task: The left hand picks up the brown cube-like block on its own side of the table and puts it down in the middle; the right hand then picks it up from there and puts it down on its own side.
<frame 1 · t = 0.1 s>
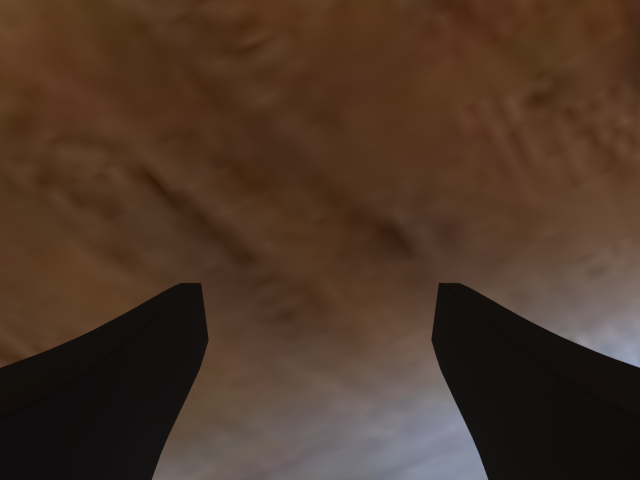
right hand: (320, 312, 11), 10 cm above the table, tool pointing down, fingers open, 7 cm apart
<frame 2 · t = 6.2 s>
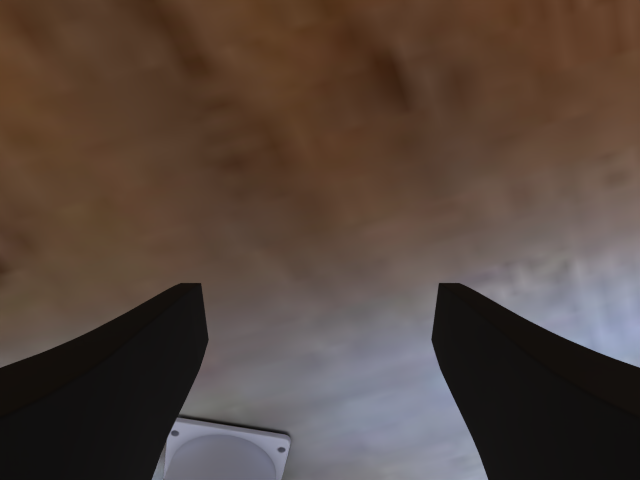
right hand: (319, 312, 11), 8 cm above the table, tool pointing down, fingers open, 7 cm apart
when the left hand's fingers open (1 cm above the table, at t = 17.9 s): brown cube-like block stays where it is, on the table.
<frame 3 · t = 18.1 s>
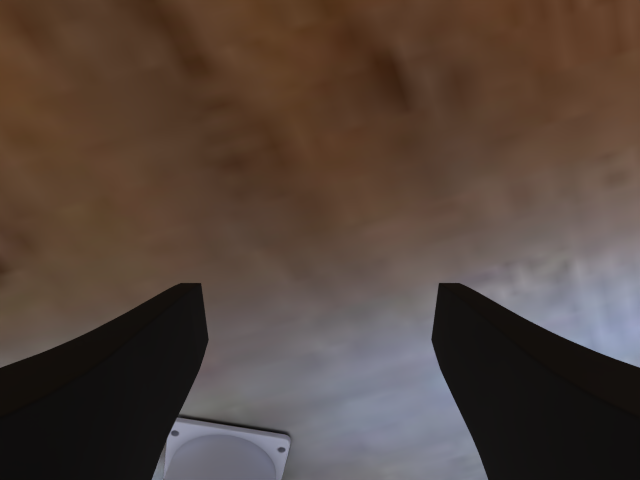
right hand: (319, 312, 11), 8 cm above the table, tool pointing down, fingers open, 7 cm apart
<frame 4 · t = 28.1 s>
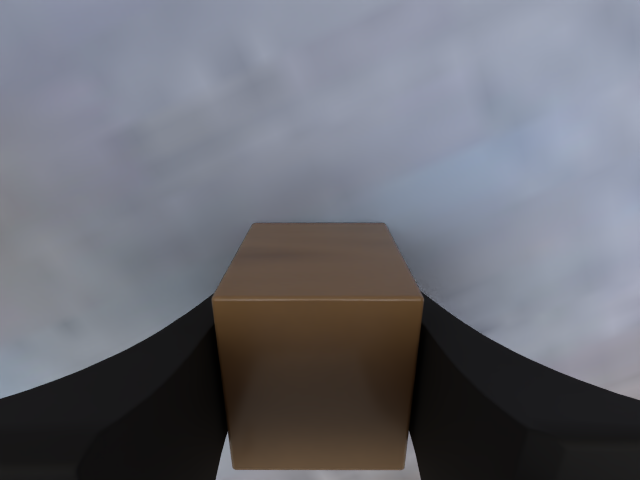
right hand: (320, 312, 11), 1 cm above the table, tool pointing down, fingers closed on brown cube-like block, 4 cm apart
brown cube-like block: (319, 289, 12), on the table, touching right hand
when the right hand's fingers open (2 cm above the table, at t = 32.5 s): brown cube-like block stays where it is, on the table.
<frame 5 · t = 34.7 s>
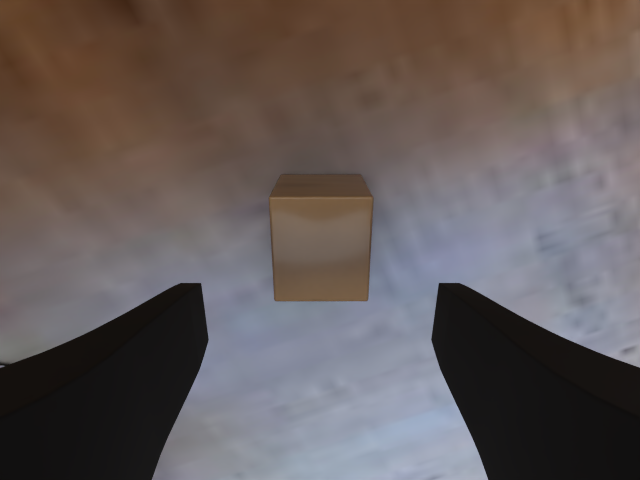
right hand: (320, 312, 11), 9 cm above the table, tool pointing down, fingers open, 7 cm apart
brown cube-like block: (320, 218, 20), on the table
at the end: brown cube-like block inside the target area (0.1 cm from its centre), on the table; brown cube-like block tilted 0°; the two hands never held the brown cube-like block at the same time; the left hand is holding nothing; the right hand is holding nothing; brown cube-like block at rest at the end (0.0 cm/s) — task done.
